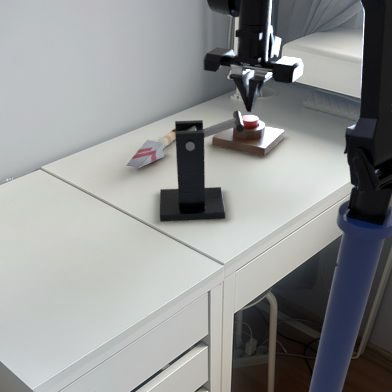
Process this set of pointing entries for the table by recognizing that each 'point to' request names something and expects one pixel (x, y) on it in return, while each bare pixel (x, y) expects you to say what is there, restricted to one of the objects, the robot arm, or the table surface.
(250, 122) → the button
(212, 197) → the bracket
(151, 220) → the table surface
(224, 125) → the lever
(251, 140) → the button block
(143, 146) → the garden trowel
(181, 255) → the table surface
